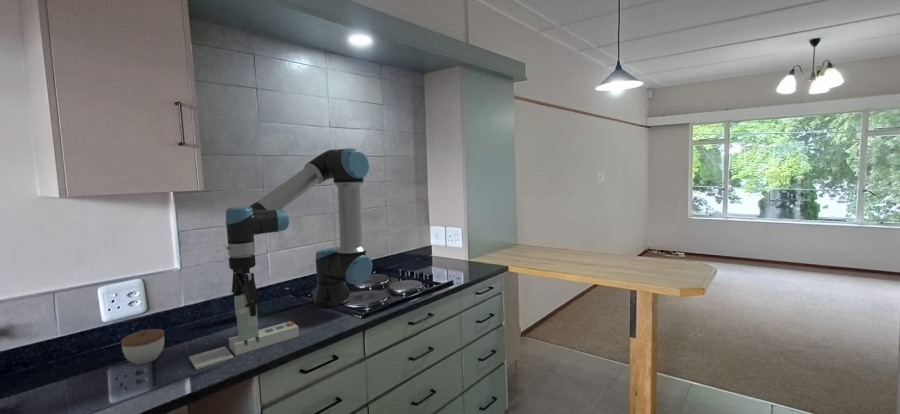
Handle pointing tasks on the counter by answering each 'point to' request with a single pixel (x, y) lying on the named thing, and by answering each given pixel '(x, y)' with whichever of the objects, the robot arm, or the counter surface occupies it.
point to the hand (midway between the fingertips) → (246, 320)
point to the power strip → (265, 338)
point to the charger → (245, 326)
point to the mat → (210, 357)
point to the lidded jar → (143, 346)
